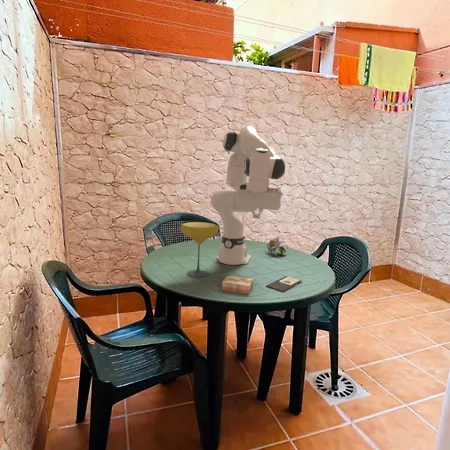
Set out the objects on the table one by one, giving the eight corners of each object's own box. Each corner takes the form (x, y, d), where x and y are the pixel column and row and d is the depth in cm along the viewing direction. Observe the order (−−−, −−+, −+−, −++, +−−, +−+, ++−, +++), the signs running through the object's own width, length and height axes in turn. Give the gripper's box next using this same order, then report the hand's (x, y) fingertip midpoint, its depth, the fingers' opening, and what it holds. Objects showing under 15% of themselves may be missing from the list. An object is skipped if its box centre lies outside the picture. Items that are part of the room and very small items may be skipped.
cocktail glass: (200, 283, 156) (202, 229, 151) (171, 274, 166) (172, 223, 161) (223, 273, 170) (226, 224, 165) (195, 265, 180) (197, 218, 175)
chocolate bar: (265, 285, 156) (285, 276, 169) (265, 287, 156) (285, 278, 170) (283, 291, 150) (302, 280, 164) (283, 293, 150) (301, 282, 164)
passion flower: (270, 262, 210) (260, 245, 212) (281, 256, 217) (272, 239, 219) (281, 256, 202) (271, 238, 203) (292, 250, 208) (283, 233, 210)
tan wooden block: (252, 287, 155) (227, 283, 158) (253, 279, 154) (227, 275, 157) (248, 294, 147) (221, 290, 150) (249, 285, 146) (222, 281, 149)
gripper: (283, 188, 147) (281, 219, 150) (239, 184, 155) (237, 214, 158) (280, 189, 141) (277, 222, 144) (234, 185, 149) (232, 216, 152)
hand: (256, 218), depth 151 cm, fingers closed
